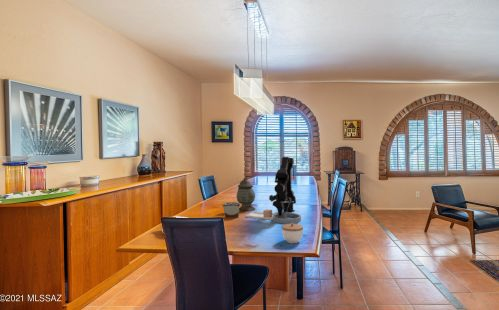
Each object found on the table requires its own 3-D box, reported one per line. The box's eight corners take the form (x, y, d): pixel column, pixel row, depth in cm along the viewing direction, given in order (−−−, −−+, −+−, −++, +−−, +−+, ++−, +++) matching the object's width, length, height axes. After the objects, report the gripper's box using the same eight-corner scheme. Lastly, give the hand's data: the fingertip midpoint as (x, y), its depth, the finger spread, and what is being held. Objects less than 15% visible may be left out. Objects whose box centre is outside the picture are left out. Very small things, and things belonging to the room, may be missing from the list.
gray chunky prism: (280, 218, 203) (280, 211, 203) (287, 218, 201) (286, 212, 201) (277, 219, 199) (277, 212, 199) (284, 220, 197) (284, 213, 197)
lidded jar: (280, 238, 160) (279, 220, 160) (300, 237, 161) (299, 220, 161) (284, 245, 150) (283, 226, 150) (305, 244, 151) (305, 225, 150)
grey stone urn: (253, 212, 225) (253, 178, 224) (235, 211, 228) (234, 178, 227) (257, 208, 239) (256, 176, 238) (239, 208, 241) (238, 176, 241)
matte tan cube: (266, 215, 211) (266, 209, 211) (272, 216, 209) (272, 209, 209) (263, 217, 207) (263, 210, 207) (269, 217, 205) (269, 211, 205)
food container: (241, 216, 213) (241, 201, 213) (240, 218, 207) (240, 203, 207) (224, 216, 215) (223, 202, 214) (222, 218, 209) (222, 203, 208)
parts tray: (254, 213, 221) (253, 211, 221) (278, 215, 212) (278, 213, 212) (245, 217, 209) (245, 215, 209) (270, 220, 200) (270, 217, 200)
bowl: (279, 216, 211) (279, 211, 211) (304, 218, 202) (304, 214, 202) (268, 222, 195) (268, 217, 195) (295, 225, 186) (295, 220, 186)
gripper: (276, 188, 211) (276, 210, 212) (264, 192, 195) (265, 216, 195) (291, 189, 206) (291, 212, 207) (281, 193, 190) (281, 218, 190)
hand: (282, 214), depth 200 cm, fingers open, 8 cm apart
